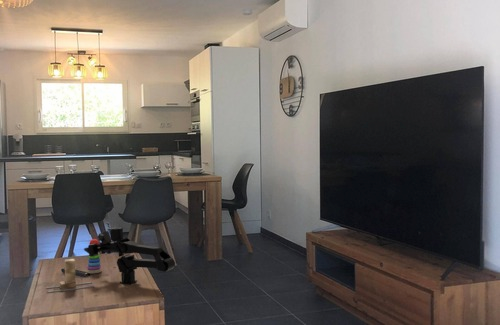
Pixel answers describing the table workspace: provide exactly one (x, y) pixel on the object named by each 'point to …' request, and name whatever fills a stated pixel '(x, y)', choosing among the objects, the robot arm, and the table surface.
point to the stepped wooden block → (69, 275)
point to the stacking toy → (94, 261)
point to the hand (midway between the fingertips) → (90, 247)
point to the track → (69, 289)
